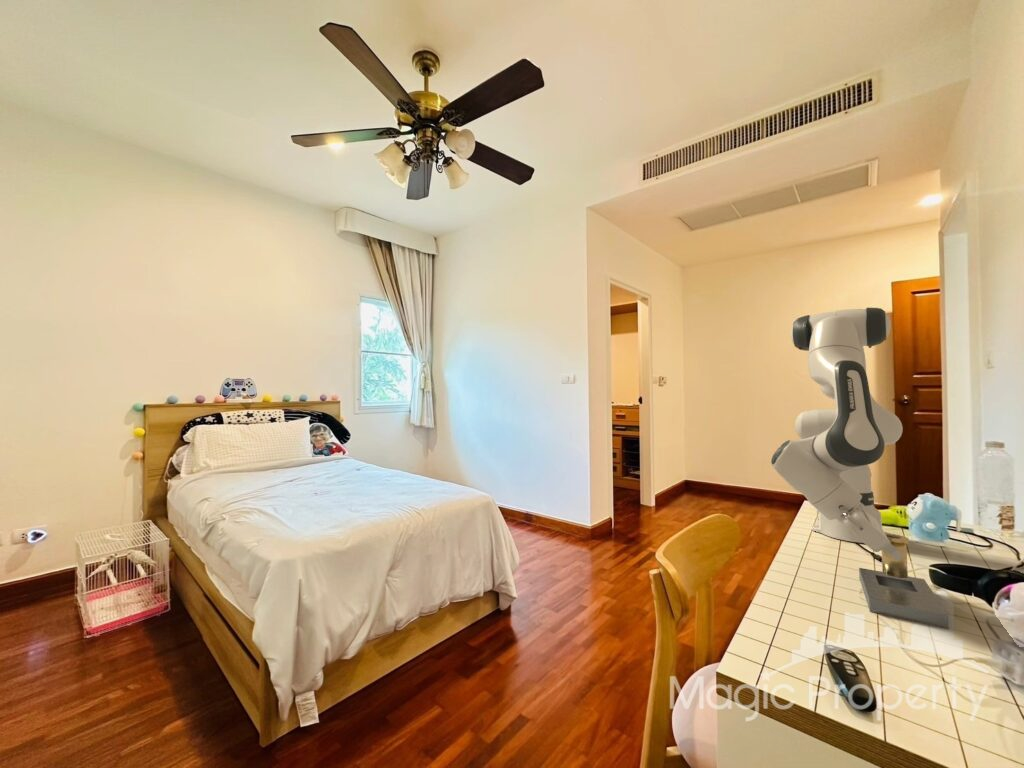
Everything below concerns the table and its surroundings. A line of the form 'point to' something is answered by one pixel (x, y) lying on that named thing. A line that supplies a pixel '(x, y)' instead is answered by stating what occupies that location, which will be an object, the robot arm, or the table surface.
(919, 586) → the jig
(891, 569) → the bushing
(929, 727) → the table surface
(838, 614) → the table surface
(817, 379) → the robot arm
